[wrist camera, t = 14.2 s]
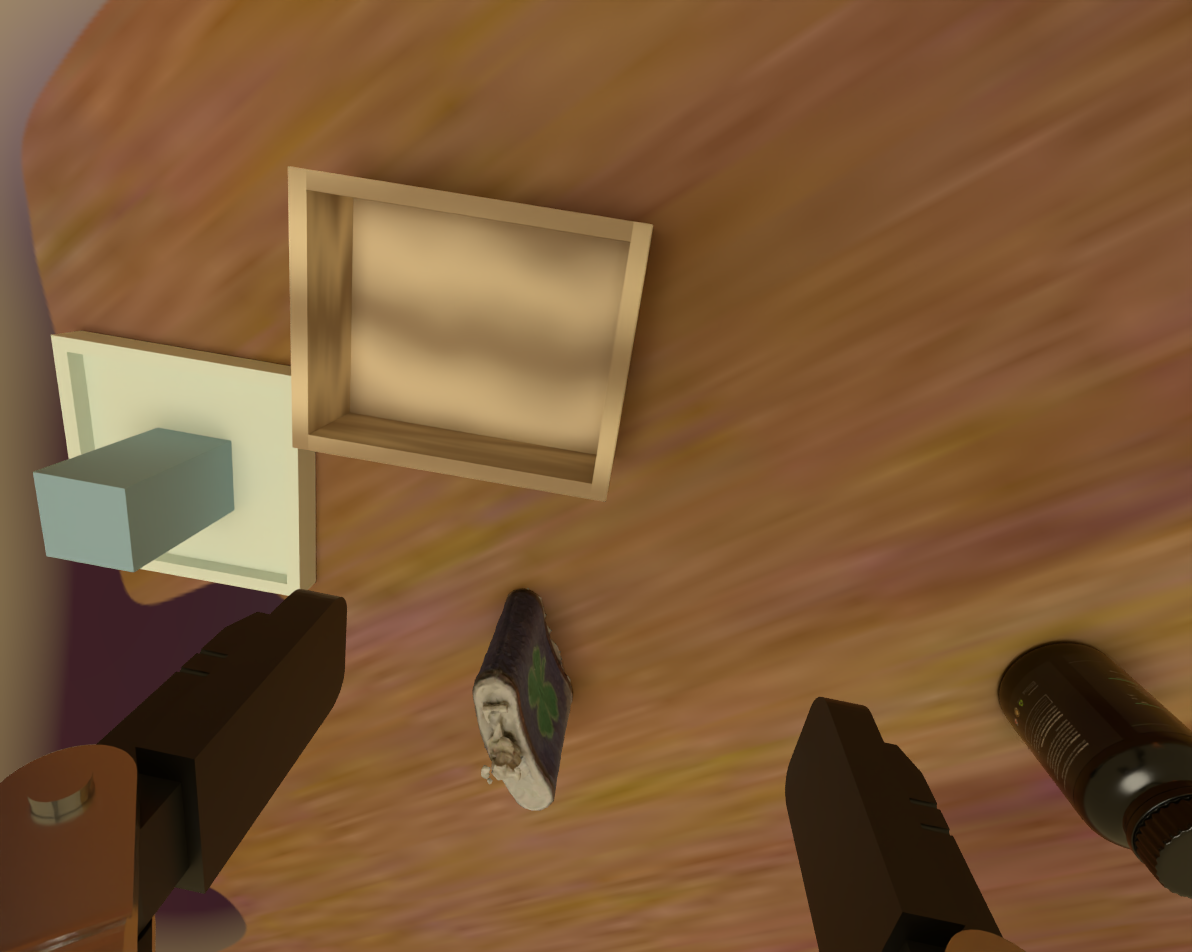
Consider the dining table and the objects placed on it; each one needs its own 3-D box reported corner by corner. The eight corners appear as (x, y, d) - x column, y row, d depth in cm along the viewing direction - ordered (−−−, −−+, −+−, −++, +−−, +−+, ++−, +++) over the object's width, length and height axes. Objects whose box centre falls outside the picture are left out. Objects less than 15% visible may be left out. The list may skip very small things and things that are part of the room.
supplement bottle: (1033, 748, 41) (1178, 938, 30) (973, 679, 40) (1100, 851, 28) (1136, 692, 39) (1333, 872, 28) (1076, 618, 38) (1257, 776, 26)
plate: (81, 330, 37) (50, 334, 35) (315, 370, 36) (296, 376, 35) (109, 544, 42) (83, 558, 40) (315, 581, 41) (299, 597, 39)
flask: (578, 701, 43) (554, 839, 33) (537, 708, 43) (501, 846, 33) (538, 582, 40) (498, 694, 30) (495, 591, 40) (441, 704, 30)
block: (157, 427, 37) (32, 471, 30) (231, 440, 37) (124, 488, 30) (163, 497, 39) (46, 555, 31) (234, 510, 39) (133, 572, 31)
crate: (356, 181, 33) (287, 166, 27) (653, 229, 32) (652, 224, 26) (351, 415, 37) (292, 447, 31) (613, 460, 37) (605, 501, 31)
